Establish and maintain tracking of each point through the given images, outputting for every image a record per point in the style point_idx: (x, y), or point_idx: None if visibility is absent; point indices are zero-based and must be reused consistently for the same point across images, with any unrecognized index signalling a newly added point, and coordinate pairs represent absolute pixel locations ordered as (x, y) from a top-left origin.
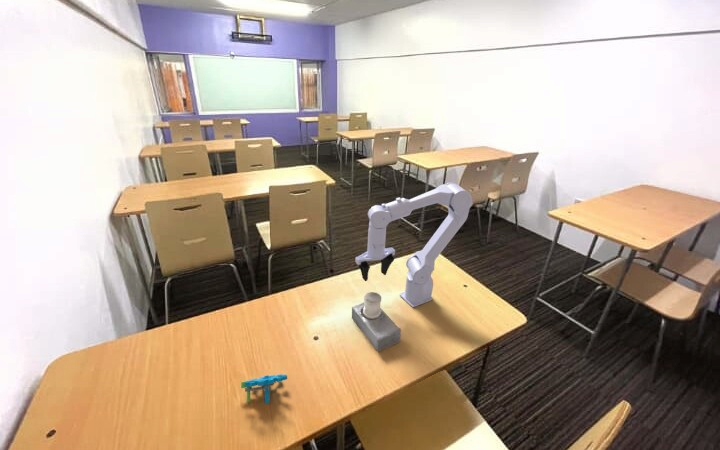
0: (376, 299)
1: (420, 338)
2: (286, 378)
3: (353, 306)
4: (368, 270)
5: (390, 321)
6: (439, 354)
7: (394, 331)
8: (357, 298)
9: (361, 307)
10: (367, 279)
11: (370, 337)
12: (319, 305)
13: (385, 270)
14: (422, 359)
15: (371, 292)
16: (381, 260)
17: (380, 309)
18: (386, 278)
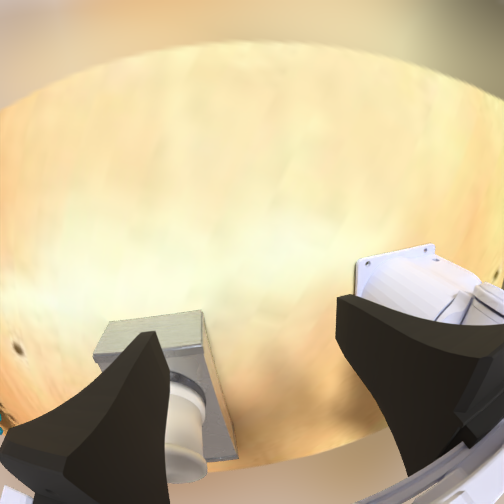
0: (179, 476)
1: (289, 425)
2: (1, 432)
3: (99, 354)
4: (163, 482)
5: (222, 438)
6: (296, 450)
7: (217, 459)
8: (160, 216)
9: None
10: (169, 384)
11: None
12: (13, 215)
13: (358, 373)
14: (256, 456)
15: (167, 453)
16: (412, 348)
17: (204, 418)
18: (366, 124)
